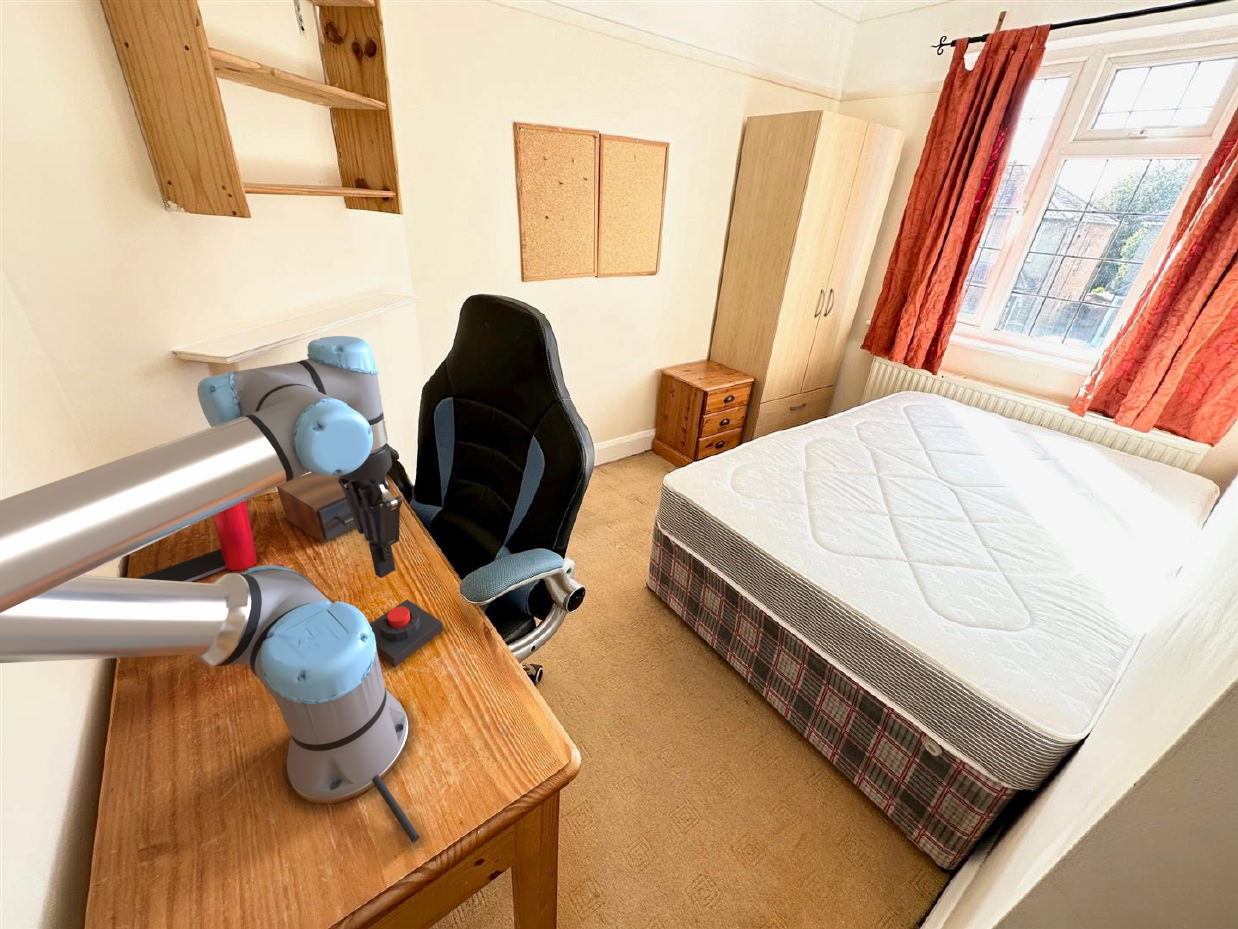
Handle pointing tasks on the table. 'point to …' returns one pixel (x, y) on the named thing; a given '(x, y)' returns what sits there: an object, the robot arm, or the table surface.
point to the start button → (398, 617)
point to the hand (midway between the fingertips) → (385, 572)
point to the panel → (404, 634)
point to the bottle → (236, 537)
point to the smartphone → (190, 568)
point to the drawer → (335, 518)
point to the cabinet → (309, 500)
